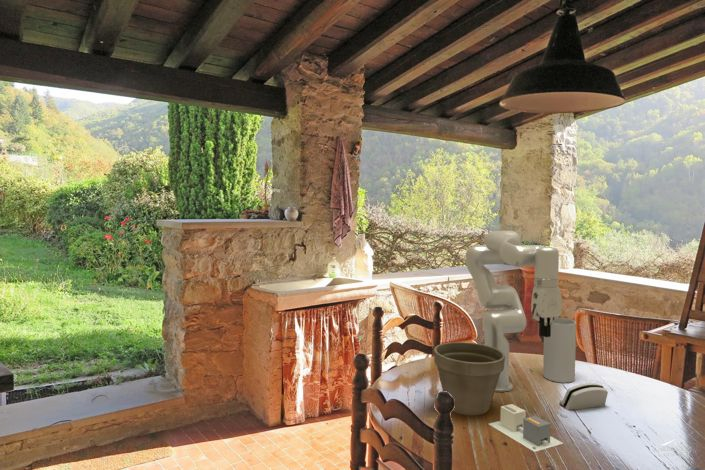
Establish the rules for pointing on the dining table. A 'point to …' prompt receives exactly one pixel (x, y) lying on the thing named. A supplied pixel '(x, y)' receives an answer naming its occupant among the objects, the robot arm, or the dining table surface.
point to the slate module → (536, 430)
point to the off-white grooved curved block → (584, 396)
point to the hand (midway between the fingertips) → (545, 335)
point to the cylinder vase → (560, 351)
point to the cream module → (512, 417)
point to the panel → (519, 438)
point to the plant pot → (469, 374)
